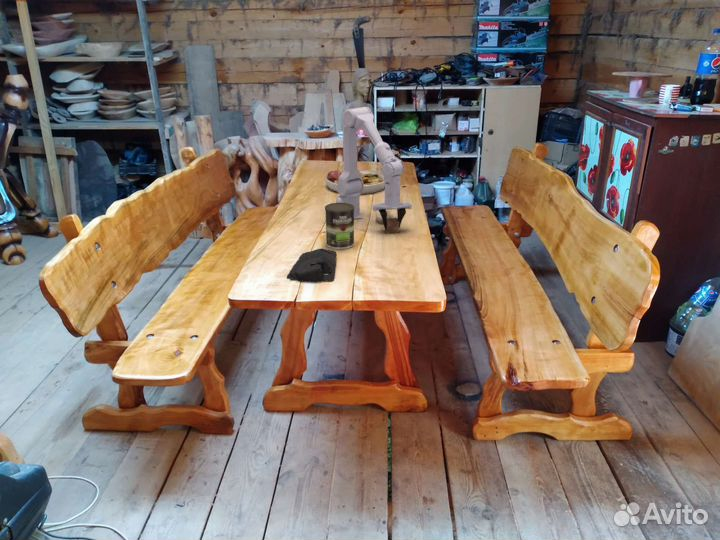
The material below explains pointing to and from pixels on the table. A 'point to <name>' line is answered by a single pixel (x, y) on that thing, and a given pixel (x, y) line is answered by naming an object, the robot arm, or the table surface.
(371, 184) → the bowl
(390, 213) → the birch round
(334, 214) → the coffee can
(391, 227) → the walnut cube
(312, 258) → the dark slate chunk
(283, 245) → the table surface
